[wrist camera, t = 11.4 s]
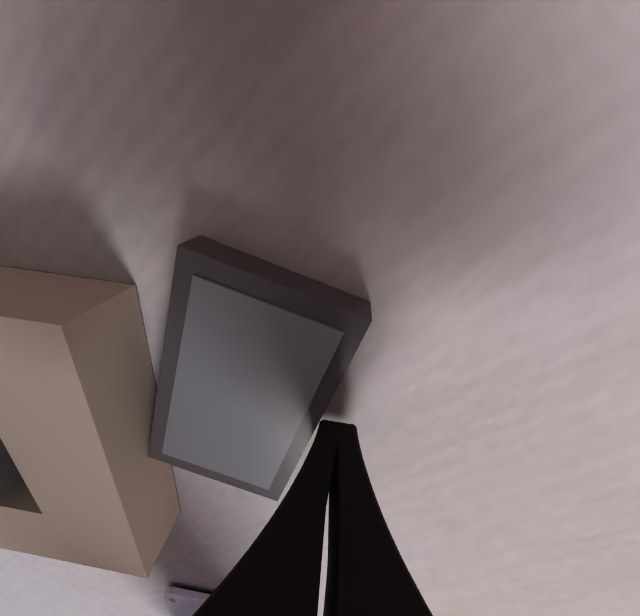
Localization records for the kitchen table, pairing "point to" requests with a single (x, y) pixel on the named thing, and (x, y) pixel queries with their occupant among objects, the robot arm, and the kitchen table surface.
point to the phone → (248, 365)
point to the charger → (7, 473)
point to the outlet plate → (80, 424)
